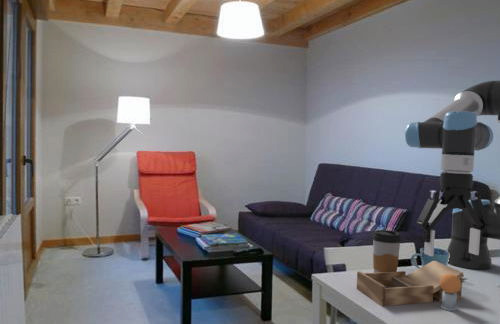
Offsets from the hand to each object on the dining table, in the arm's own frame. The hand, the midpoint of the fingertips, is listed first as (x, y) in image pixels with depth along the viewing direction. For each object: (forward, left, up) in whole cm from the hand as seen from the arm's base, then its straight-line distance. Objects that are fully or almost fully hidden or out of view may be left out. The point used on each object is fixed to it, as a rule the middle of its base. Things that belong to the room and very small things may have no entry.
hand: (451, 254), depth 112 cm
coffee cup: (+5, -23, -14) cm, 27 cm away
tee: (0, 0, -14) cm, 14 cm away
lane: (+4, -11, -14) cm, 18 cm away
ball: (0, 0, -8) cm, 8 cm away
